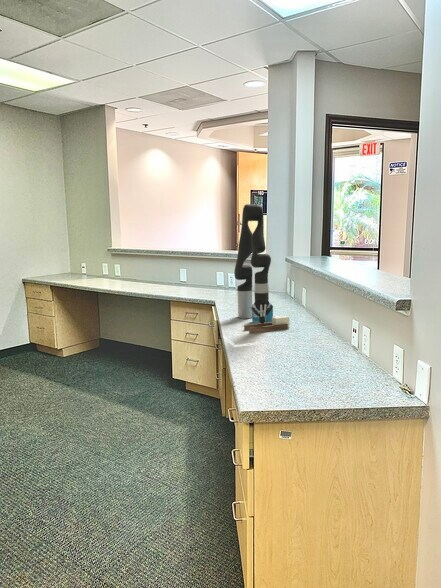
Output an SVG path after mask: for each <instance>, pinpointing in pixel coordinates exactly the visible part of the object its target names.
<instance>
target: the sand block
mask: <svg viewBox="0 0 441 588" xmlns="http://www.w3.org/2000/svg"><path fill="white" fill-rule="evenodd" d="M279 324H288V329H289V328H290V316H288V315H277V316H273V317H272V325H279Z"/></svg>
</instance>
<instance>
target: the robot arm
mask: <svg viewBox="0 0 441 588" xmlns="http://www.w3.org/2000/svg"><path fill="white" fill-rule="evenodd" d="M241 215H242V217H241V228H240V235H239V241H238V251H237V258H236V262H235V266H234V275H233V276H234V278H235V280H236V281H237V280H238V281H243V280H244V282H243V283H242V284H240V285H237V288H236V289H237V318H239V319H252V318H251V317H252V311H253V312H254V313H255V315H257V316H259V322H260V323H261V324H262V323H264V322H265V316H266V315H268V314H269V313H270V311H271V309H272V308H273V309H274V306H273V304H272V305H270V304H269V303H270V301H269V300H270V299H269V297H270V296H269V290H270V289H269V278H268V277H269V271H270V266H271V263H272V258H271V256H270V254H269V253H265V251H266V243H265V236H264V235H265V234H264V233H265V232H264V231H265V230H264V229H265V228H264V227H265V226H264V225H265V224H264V223H265V222H264V220H265V219H264V209H263V206H262V205H261V204H250V203H248V204H244V206H243V207H242V214H241ZM249 222H257V225H256V227H255V229H254V231H253V232H252V231H251V229H250V226H249ZM250 256H251V259H250V264H244V263H245V262H246V260H247V259H248V258H249V257H250ZM253 268H262V270H260V271H257V272H256V271H255V272H254V302H253ZM253 304H254V306H252V305H253ZM255 307H256V308H257V309H258V312H257V311H256V310H255V309H256V308H255ZM267 307H268V308H267ZM266 309H267V310H266Z"/></svg>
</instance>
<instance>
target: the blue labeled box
mask: <svg viewBox="0 0 441 588" xmlns="http://www.w3.org/2000/svg"><path fill="white" fill-rule="evenodd" d="M269 304H270V305H272V306H273V304H272V303H271V302H269ZM252 306H254V303H252ZM255 308H256V307H255ZM267 308H268V307H267ZM255 310H256V311H257V312H258V309H257V308H256V309H255ZM266 310H267V309H266ZM272 317H274V307H273V308H272V309H271V311H270V313H269V314H268V315H266V316H265V322H264V323H267V322H272ZM251 322H252V323H251V324H258V323H260V322H259V316H257V315H255V313H254V312H253V311H252V318H251Z"/></svg>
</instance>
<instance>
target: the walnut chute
mask: <svg viewBox="0 0 441 588" xmlns="http://www.w3.org/2000/svg"><path fill="white" fill-rule="evenodd" d="M288 329H289V328H288V324H279V325H272V322H267V323H262V324H261V323H251V324H244V325H243V331H248V333H249V334H251V335H252V334H257V333H258V334H259V333H266V332H274V331H275V332H276V331H281V330H282V331H283V330H288Z"/></svg>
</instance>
